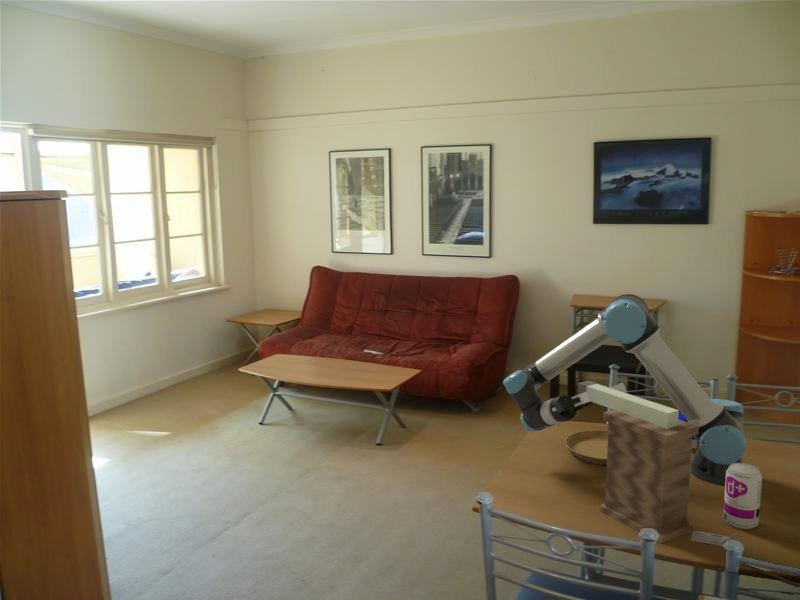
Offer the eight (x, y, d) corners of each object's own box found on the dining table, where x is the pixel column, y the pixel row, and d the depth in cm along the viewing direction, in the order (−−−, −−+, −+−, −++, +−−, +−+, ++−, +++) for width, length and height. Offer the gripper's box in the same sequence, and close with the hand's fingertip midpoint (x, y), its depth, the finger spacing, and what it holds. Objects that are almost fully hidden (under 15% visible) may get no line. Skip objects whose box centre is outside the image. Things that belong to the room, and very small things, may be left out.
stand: (599, 510, 182) (603, 412, 177) (630, 499, 188) (634, 404, 183) (661, 543, 165) (666, 436, 160) (692, 530, 171) (698, 426, 166)
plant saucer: (633, 474, 205) (633, 464, 204) (556, 459, 217) (556, 450, 216) (647, 446, 225) (647, 437, 225) (576, 434, 237) (576, 426, 237)
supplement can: (742, 533, 169) (747, 477, 167) (716, 518, 177) (719, 465, 174) (765, 526, 172) (769, 471, 170) (738, 512, 180) (741, 459, 177)
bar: (577, 397, 190) (578, 383, 190) (588, 394, 193) (588, 380, 192) (667, 429, 165) (667, 413, 164) (678, 425, 167) (679, 409, 166)
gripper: (593, 414, 206) (643, 396, 189) (531, 430, 194) (578, 413, 176) (584, 390, 208) (633, 371, 191) (522, 405, 196) (568, 386, 178)
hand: (607, 391), depth 183 cm, fingers open, 13 cm apart
